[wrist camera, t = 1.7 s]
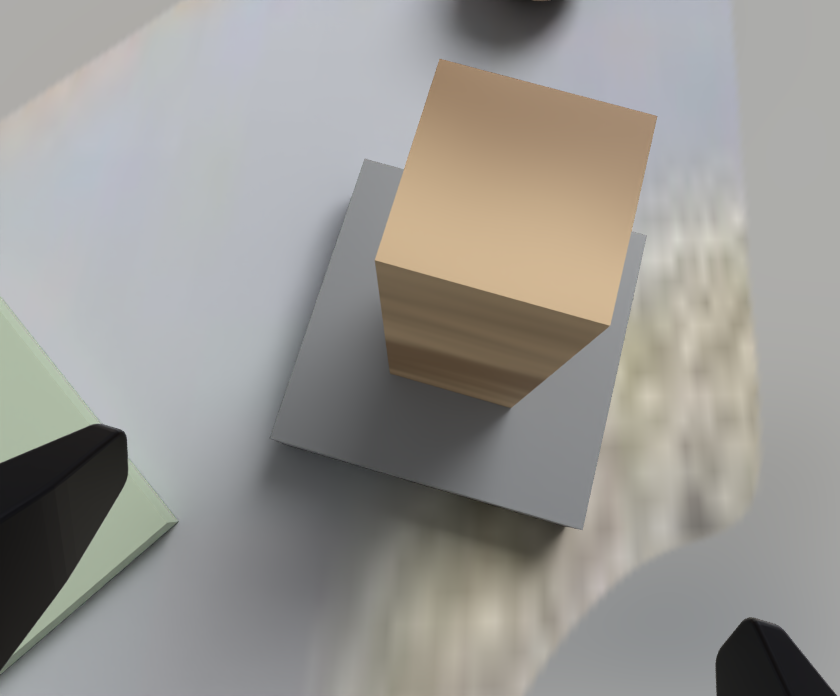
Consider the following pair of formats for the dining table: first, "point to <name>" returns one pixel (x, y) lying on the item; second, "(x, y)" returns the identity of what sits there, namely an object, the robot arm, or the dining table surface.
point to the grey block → (443, 391)
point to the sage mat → (47, 421)
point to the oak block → (507, 232)
